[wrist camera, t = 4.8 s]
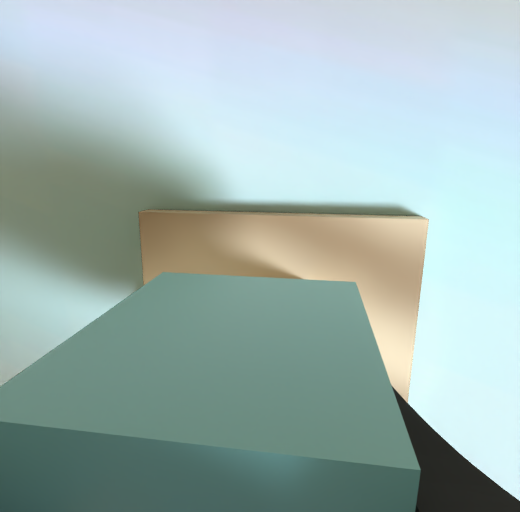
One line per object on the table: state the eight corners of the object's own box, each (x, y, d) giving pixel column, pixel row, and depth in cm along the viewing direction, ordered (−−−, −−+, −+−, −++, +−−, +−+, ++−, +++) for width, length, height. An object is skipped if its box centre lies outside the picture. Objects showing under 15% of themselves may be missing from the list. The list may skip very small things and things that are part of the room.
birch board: (387, 523, 19) (422, 695, 13) (166, 493, 21) (103, 633, 15) (421, 216, 15) (493, 250, 9) (148, 209, 17) (52, 234, 11)
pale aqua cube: (343, 452, 12) (376, 797, 5) (171, 433, 12) (22, 714, 6) (355, 281, 10) (420, 469, 4) (162, 272, 11) (-43, 416, 5)
